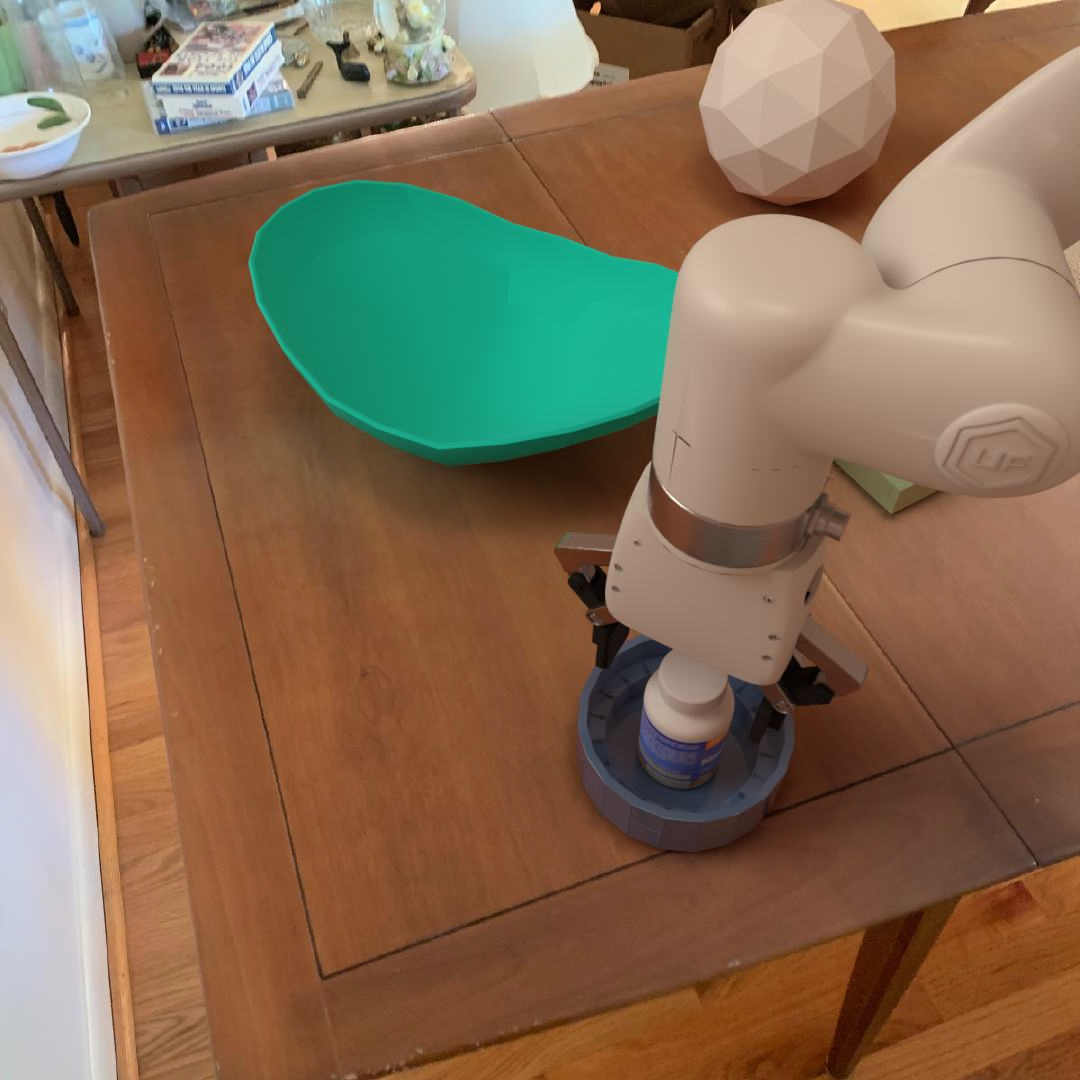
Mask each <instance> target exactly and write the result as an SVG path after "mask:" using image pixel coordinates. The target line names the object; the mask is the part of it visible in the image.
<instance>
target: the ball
mask: <svg viewBox="0 0 1080 1080" xmlns="http://www.w3.org/2000/svg"><path fill="white" fill-rule="evenodd" d="M895 54H896V53H895V50H894V49H893V48H892V46H891V45H890V44H889V43H888V41H887V40H886V38H885V37H884V36H883V35H882V33H881V32H880V31H879V29H878V28H877V27H876V25H875V24H874V22H873V21H872V20H871V18H870V17H869V16H868V15H867V13H866V12H865V10H864V9H862V8H859V7H856V6H853V5H850V4H848V3H845V2H842V1H839V0H780V1H777V2H774V3H771V4H767V5H764V6H761V7H757V8H754V9H753V10H752V11H751V12H750V13H749V14H748V16H747V17H745V18H744V20H743V21H741V23H740V24H739V25H738V26H737V27H736V28H735V29H734V30H733V31H732V32H731V33H730V34H729V35H728V36H727V37H726V39H725V40H724V41H722V43H720V44H719V46H717V49H716V52H715V55H714V58H713V61H712V63H711V67H710V70H709V73H708V76H707V79H706V81H705V84H704V87H703V90H702V92H701V95H700V98H699V101H698V108H699V113H700V116H701V121H702V125H703V130H704V134H705V139H706V143H707V148H708V152H709V153H710V155H711V156H712V158H713V159H714V161H715V162H716V164H717V165H718V167H719V168H720V170H721V171H722V172H723V174H724V175H725V176H726V178H727V180H728V181H729V182H730V184H731V185H732V187H733V188H734V190H735V191H736V192H738V193H741V194H744V195H747V196H751V197H754V198H757V199H760V200H763V201H766V202H769V203H772V204H776V205H779V206H782V207H788V206H792V205H796V204H800V203H805V202H810V201H815V200H818V199H822V198H828V197H829V196H831V195H833V194H835V193H837V192H838V191H839V190H841V189H842V188H844V187H845V186H846V185H847V184H849V183H850V182H852V181H853V180H854V179H855V178H857V177H859V176H860V175H861V174H862V173H863V172H865V171H867V170H868V169H869V168H870V167H872V166H873V165H875V164H876V163H877V162H878V160H879V157H880V154H881V151H882V149H883V146H884V143H885V141H886V138H887V136H888V133H889V130H890V127H891V125H892V123H893V119H894V117H895V114H896V111H897V99H896V98H897V97H896V93H897V92H896V60H895V59H896V58H895V57H896V55H895Z"/></svg>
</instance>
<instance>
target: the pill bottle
mask: <svg viewBox="0 0 1080 1080" xmlns="http://www.w3.org/2000/svg"><path fill="white" fill-rule="evenodd" d="M733 712H734V695H733V691H732V689H731V686H730V684H729V683H728V674H726V673H724V672H722V671H720V670H718V669H715V668H713V667H711V666H709V665H707V664H704V663H702V662H700V661H698V660H696V659H694V658H691V657H689V656H687V655H685V654H683V653H681V652H679V651H676V650H672V651H670V652H669V653H668V654H667V655H666V656H665V657H664V659H663V660H662V662H661V665H660V668H659V669H657V670H656V671H655V672H654V673H653V674H652V676H651V677H650V679H649V681H648V683H647V685H646V688H645V693H644V700H643V709H642V717H641V725H640V733H639V739H638V755H639V759H640V761H641V764H642V766H643V767H644V769H645V770H646V772H647V773H648V774H649V775H650V776H651V777H652V778H653V779H654V780H656V781H657V782H659V783H661V784H662V785H665V786H667V787H670V788H675V789H690V788H694V787H697V786H699V785H701V784H703V783H705V782H706V781H708V780H709V779H710V778H711V777H712V776H713V774H714V773H715V772H716V770H717V768H718V765H719V763H720V760H721V757H722V753H723V749H724V746H725V742H726V738H727V735H728V731H729V728H730V724H731V721H732V717H733Z"/></svg>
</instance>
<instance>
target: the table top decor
mask: <svg viewBox="0 0 1080 1080" xmlns="http://www.w3.org/2000/svg"><path fill="white" fill-rule="evenodd" d="M247 264H248V269H249V273H250V277H251V282H252V287H253V292H254V297H255V301H256V304H257V306H258V308H259V310H260V312H261V314H262V316H263V317H264V319H265V321H266V322H267V325H268V326H269V328H270V330H271V332H272V334H273V335H274V337H275V339H276V341H277V343H278V344H279V346H280V348H281V350H282V351H283V353H284V354H285V355H286V357H287V359H288V360H289V362H290V363H291V364H292V366H293V367H294V368H295V370H296V371H297V372H298V373H299V375H300V376H301V377H302V378H303V379H304V380H305V381H306V383H307V384H308V385H309V386H310V387H311V388H312V390H313V391H314V392H315V393H316V395H317V396H318V397H319V398H320V400H322V402H323V403H324V404H325V405H326V406H327V408H329V410H330V411H331V412H332V414H333V415H334V416H336V417H337V418H339V419H340V420H343V421H344V422H346V423H348V424H350V425H351V426H352V427H353V426H354V427H355V428H357V429H358V430H361V431H362V432H364V433H366V434H368V435H369V436H371V437H372V438H374V439H376V440H378V441H380V442H381V443H383V444H385V445H387V446H389V447H391V448H393V449H395V450H397V451H400V452H403V453H406V454H409V455H413V456H415V457H419V458H421V459H424V460H428V461H431V462H434V463H437V464H440V465H443V466H446V467H458V466H459V467H460V466H469V465H477V464H488V463H489V464H490V463H499V462H505V461H509V460H515V459H519V458H524V457H529V456H533V455H537V454H538V455H539V454H543V453H547V452H553V451H556V450H561V449H564V448H567V447H570V446H573V445H577V444H580V443H583V442H587V441H590V440H594V439H597V438H600V437H603V436H607V435H610V434H613V433H616V432H619V431H622V430H625V429H628V428H630V427H632V426H635V425H638V424H639V423H642V422H644V421H646V420H648V419H650V418H652V417H655V416H658V410H659V403H660V395H661V388H662V381H663V373H664V366H665V358H666V351H667V344H668V336H669V329H670V321H671V314H672V307H673V299H674V293H675V288H676V283H677V278H678V274H679V271H678V272H677V271H675V270H673V269H671V268H669V267H665V266H664V265H661V264H658V263H654V262H648V261H643V260H637V259H631V258H624V257H619V256H613V255H610V254H608V253H606V252H603V251H601V250H598V249H595V248H592V247H590V246H588V245H585V244H582V243H580V242H577V241H574V240H572V239H569V238H567V237H564V236H561V235H557V234H553V233H550V232H547V231H542V230H539V229H535V228H532V227H529V226H525V225H521V224H517V223H515V222H511V221H510V220H507V219H505V218H503V217H501V216H498V215H496V214H494V213H492V212H490V211H487V210H485V209H483V208H481V207H479V206H477V205H475V204H472V203H470V202H469V201H466V200H463V199H461V198H459V197H456V196H452V195H449V194H445V193H441V192H438V191H435V190H432V189H431V190H430V189H427V188H423V187H420V186H417V185H413V184H409V183H405V182H394V181H393V182H392V181H391V182H390V181H379V180H378V181H377V180H362V179H354V180H349V181H348V180H347V181H344V182H339V183H335V184H330V185H325V186H321V187H315V188H313V189H311V190H309V191H306V192H305V193H303V194H301V195H299V196H298V197H296V198H294V199H292V200H290V201H288V202H286V203H284V204H282V205H281V206H279V208H277V210H276V211H275V212H274V213H273V214H272V215H271V216H270V217H269V218H268V219H267V220H266V221H265V222H264V223H263V224H262V226H260V227H259V229H258V230H257V231H256V233H255V237H254V241H253V244H252V248H251V252H250V255H249V259H248V263H247Z"/></svg>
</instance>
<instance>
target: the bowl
mask: <svg viewBox="0 0 1080 1080" xmlns="http://www.w3.org/2000/svg"><path fill="white" fill-rule="evenodd" d="M672 650H674V649H672V648H670V647H668V646H666V645H664V644H662V643H660V642H657V641H655V640H653V639H651V638H649V637H647V636H645V635H643V634H641V633H640V634H638V635H636V636H634V637H632V638H630V639H628V640H625V642H624V644H623V645H622V647H621V648H620V650H619V652H618V653H617V655H616V657H615V658H614V660H613V661H612V663H611V665H610V666H609V668H608V669H606V668H605V669H604V670H602V669H600V668H598V667H596V666H595V665H594V666H593V668H592V669H591V670H590V673H589V675H588V678H587V679H586V682H585V683H584V685H583V687H582V690H581V692H580V694H579V701H578V713H577V721H576V722H577V724H576V726H577V727H576V744H575V745H576V748H575V757H576V758H575V759H576V763H577V767H578V770H579V775H580V779H581V782H582V786H583V788H584V790H585V792H586V793H587V795H588V796H589V798H590V799H591V801H592V803H593V804H594V805H595V807H596V809H597V810H598V811H599V813H600V814H601V815H602V816H603V817H604V818H605V819H606V820H608V822H610V823H611V824H612V825H613V826H615V827H616V828H617V829H619V830H620V831H621V832H622V833H624V835H626V836H628V837H630V838H633V839H635V840H637V841H639V842H642V843H645V844H647V845H649V846H652V847H654V848H656V849H659V850H666V851H676V852H688V853H697V852H702V851H706V850H711V849H715V848H720V847H725V846H728V845H729V844H731V843H733V842H735V841H737V840H738V839H739V838H742V836H744V835H746V834H747V833H750V832H751V831H752V830H754V829H755V828H756V827H757V826H758V825H759V823H760V822H761V821H762V819H763V818H764V817H765V816H766V814H767V813H768V812H769V810H770V809H772V806H773V805H774V804H775V801H776V798H777V796H778V793H779V791H780V789H781V786H782V784H783V782H784V779H785V778H786V775H787V772H788V768H789V765H790V761H791V759H792V756H793V752H794V749H795V746H796V740H795V724H794V723H795V722H794V713H793V712H794V711H793V712H792V713H791V714H787V715H786V718H785V720H784V722H783V724H782V726H781V728H780V730H779V732H778V731H776V730H774V729H772V728H770V727H767V729H766V731H765V733H764V735H763V737H762V739H761V741H760V743H759V745H757V744H755V743H752V742H750V740H751V739H750V738H748V735H749V732H750V730H751V727H752V724H753V721H754V719H755V716H756V713H757V710H758V708H759V705H760V703H761V701H762V699H763V697H764V694H763V692H762V691H761V689H760V688H759V686H758V685H756V684H752V683H749V682H746V681H743V680H740V679H738V678H736V677H733V676H731V675H729V674H728V683H729V684H730V686H731V689H732V691H733V695H734V712H733V717H732V721H731V724H730V728H729V731H728V735H727V738H726V742H725V746H724V749H723V753H722V757H721V760H720V763H719V765H718V768H717V770H716V772H715V773H714V774H713V776H712V777H711V778H710V779H709V780H708V781H706V782H705V783H703V784H701V785H699V786H697V787H694V788H690V789H675V788H670V787H667V786H665V785H662V784H661V783H659V782H657V781H656V780H654V779H653V778H652V777H651V776H650V775H649V774H648V773H647V772H646V770H645V769H644V767H643V766H642V764H641V761H640V759H639V755H638V739H639V733H640V725H641V717H642V709H643V700H644V693H645V688H646V685H647V683H648V681H649V679H650V677H651V676H652V674H653V673H654V672H655V671H656V670H657V669H659V668H660V665H661V662H662V660H663V659H664V657H665V656H666V655H667V654H668V653H669V652H670V651H672Z"/></svg>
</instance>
